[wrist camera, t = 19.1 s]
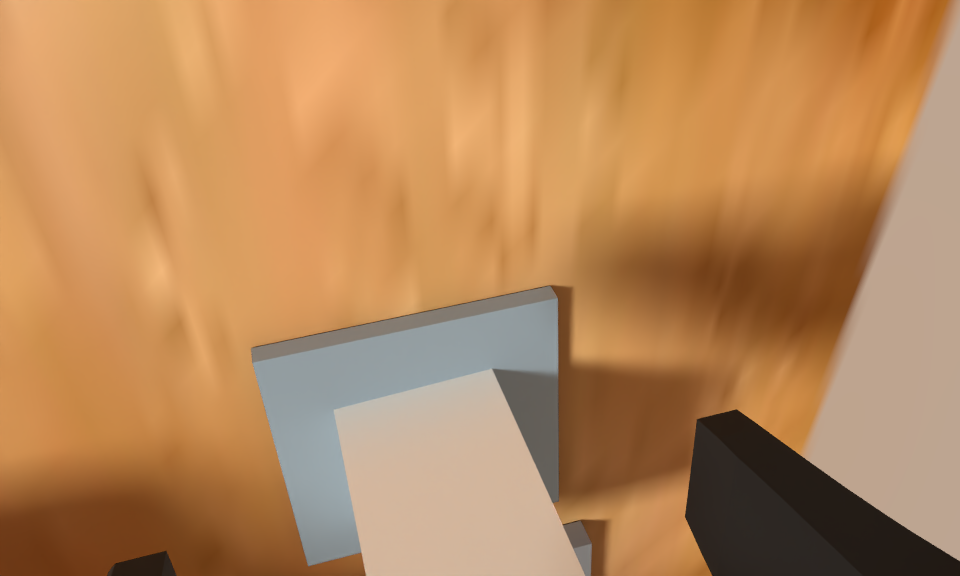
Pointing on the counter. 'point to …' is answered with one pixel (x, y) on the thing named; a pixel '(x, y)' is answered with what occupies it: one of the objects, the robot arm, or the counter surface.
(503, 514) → the plug
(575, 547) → the socket block
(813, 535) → the robot arm
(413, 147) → the counter surface
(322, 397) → the rest pad
